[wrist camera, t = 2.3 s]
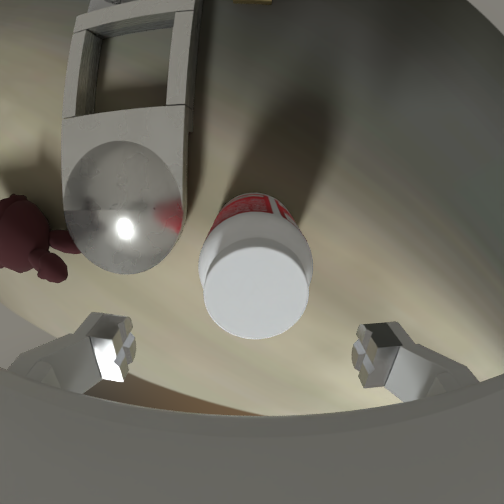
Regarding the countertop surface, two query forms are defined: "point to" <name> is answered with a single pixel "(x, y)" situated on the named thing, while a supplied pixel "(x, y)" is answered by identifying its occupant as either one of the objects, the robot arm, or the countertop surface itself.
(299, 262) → the pill bottle
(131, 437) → the robot arm
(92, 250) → the flat tray with frame
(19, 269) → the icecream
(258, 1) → the link plate
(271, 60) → the countertop surface
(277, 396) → the countertop surface
